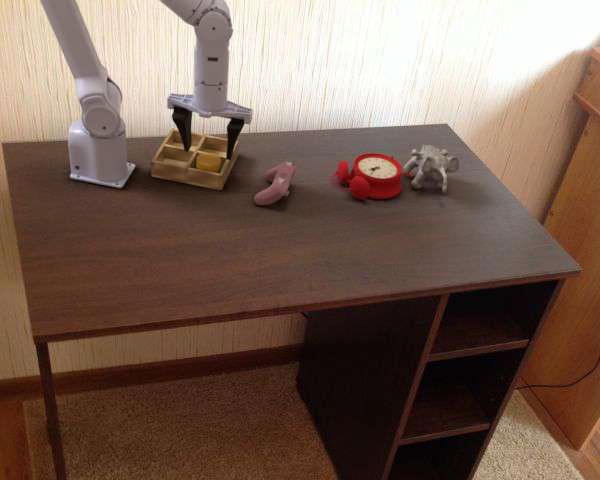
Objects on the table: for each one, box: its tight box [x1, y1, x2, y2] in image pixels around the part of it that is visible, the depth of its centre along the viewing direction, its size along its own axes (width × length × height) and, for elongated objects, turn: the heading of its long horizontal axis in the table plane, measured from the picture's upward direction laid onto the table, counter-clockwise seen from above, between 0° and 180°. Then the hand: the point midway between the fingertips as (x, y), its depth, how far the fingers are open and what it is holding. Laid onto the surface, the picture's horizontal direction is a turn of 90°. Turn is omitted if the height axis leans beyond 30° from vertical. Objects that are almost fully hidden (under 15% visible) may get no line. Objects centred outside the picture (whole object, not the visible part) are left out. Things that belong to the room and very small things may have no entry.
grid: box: [150, 127, 240, 191], centre depth 139 cm, size 13×13×3 cm
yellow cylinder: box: [196, 153, 221, 174], centre depth 137 cm, size 4×4×3 cm
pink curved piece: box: [253, 160, 298, 206], centre depth 135 cm, size 10×5×7 cm, turn 168°
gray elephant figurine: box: [402, 144, 460, 194], centre depth 142 cm, size 9×12×8 cm
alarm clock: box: [330, 152, 414, 201], centre depth 141 cm, size 10×6×15 cm
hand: (208, 152), depth 135 cm, fingers open, 7 cm apart
